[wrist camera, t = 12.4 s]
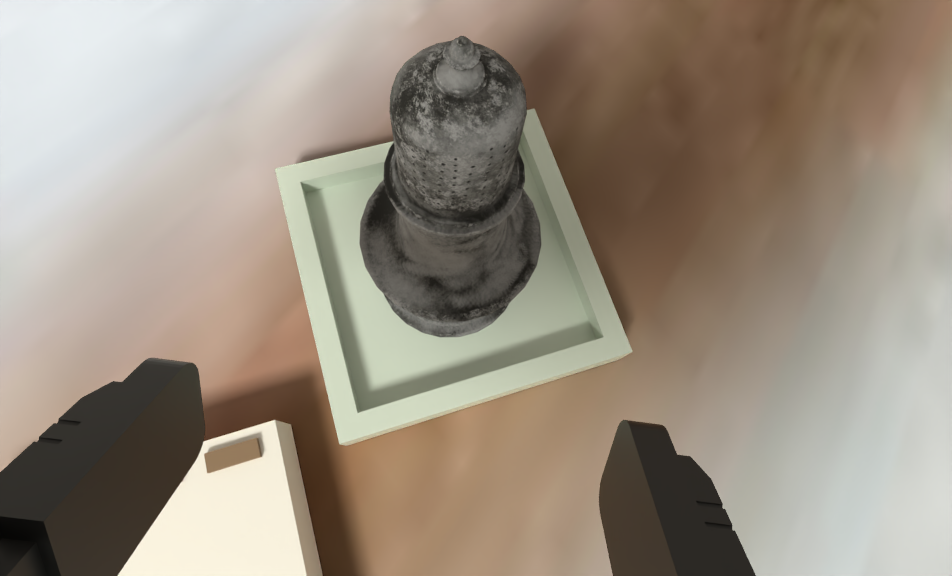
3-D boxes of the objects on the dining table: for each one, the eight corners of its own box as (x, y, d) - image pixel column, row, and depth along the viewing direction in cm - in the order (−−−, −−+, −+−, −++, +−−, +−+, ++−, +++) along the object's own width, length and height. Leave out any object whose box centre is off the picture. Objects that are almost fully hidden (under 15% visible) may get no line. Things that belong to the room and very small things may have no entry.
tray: (528, 129, 24) (534, 108, 22) (619, 359, 21) (632, 351, 20) (285, 187, 22) (274, 168, 21) (346, 445, 19) (339, 444, 18)
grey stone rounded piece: (538, 333, 20) (664, 167, 9) (380, 356, 20) (301, 206, 8) (510, 193, 22) (587, -94, 11) (364, 210, 22) (282, -78, 10)
